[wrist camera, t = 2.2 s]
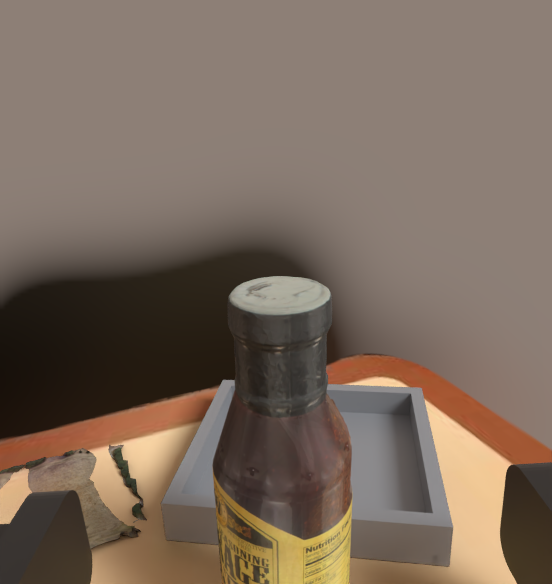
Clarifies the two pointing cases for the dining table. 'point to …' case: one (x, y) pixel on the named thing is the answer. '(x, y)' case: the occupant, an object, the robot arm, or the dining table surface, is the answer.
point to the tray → (364, 479)
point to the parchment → (82, 489)
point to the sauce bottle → (282, 443)
